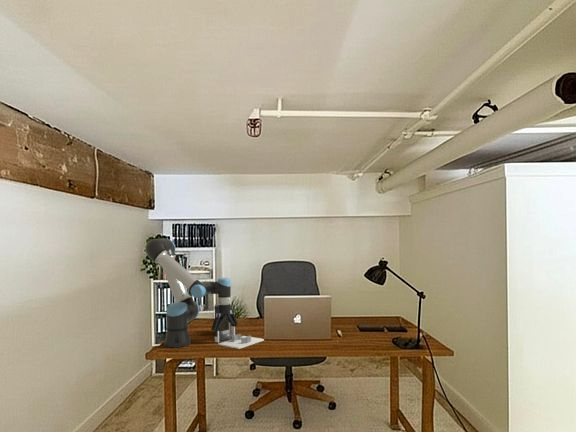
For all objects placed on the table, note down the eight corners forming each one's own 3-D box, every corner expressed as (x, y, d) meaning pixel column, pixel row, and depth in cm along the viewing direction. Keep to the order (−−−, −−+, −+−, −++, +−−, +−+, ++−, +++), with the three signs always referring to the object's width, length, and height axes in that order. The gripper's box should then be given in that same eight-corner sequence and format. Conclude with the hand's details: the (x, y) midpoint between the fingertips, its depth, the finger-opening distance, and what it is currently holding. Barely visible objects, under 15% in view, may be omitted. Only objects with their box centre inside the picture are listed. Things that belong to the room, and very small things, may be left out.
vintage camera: (235, 331, 285) (234, 300, 287) (229, 335, 270) (228, 303, 271) (220, 331, 286) (219, 301, 288) (214, 336, 271) (213, 304, 272)
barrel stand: (239, 348, 239) (238, 342, 239) (218, 345, 248) (218, 338, 248) (263, 340, 257) (263, 333, 257) (243, 337, 266) (243, 330, 266)
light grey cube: (225, 342, 255) (225, 332, 256) (217, 340, 259) (217, 331, 259) (232, 339, 261) (232, 330, 261) (225, 338, 264) (224, 329, 265)
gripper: (214, 307, 248) (214, 344, 248) (243, 301, 269) (243, 335, 268) (204, 306, 253) (205, 343, 252) (234, 300, 273) (234, 334, 272)
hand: (225, 339), depth 260 cm, fingers open, 13 cm apart
